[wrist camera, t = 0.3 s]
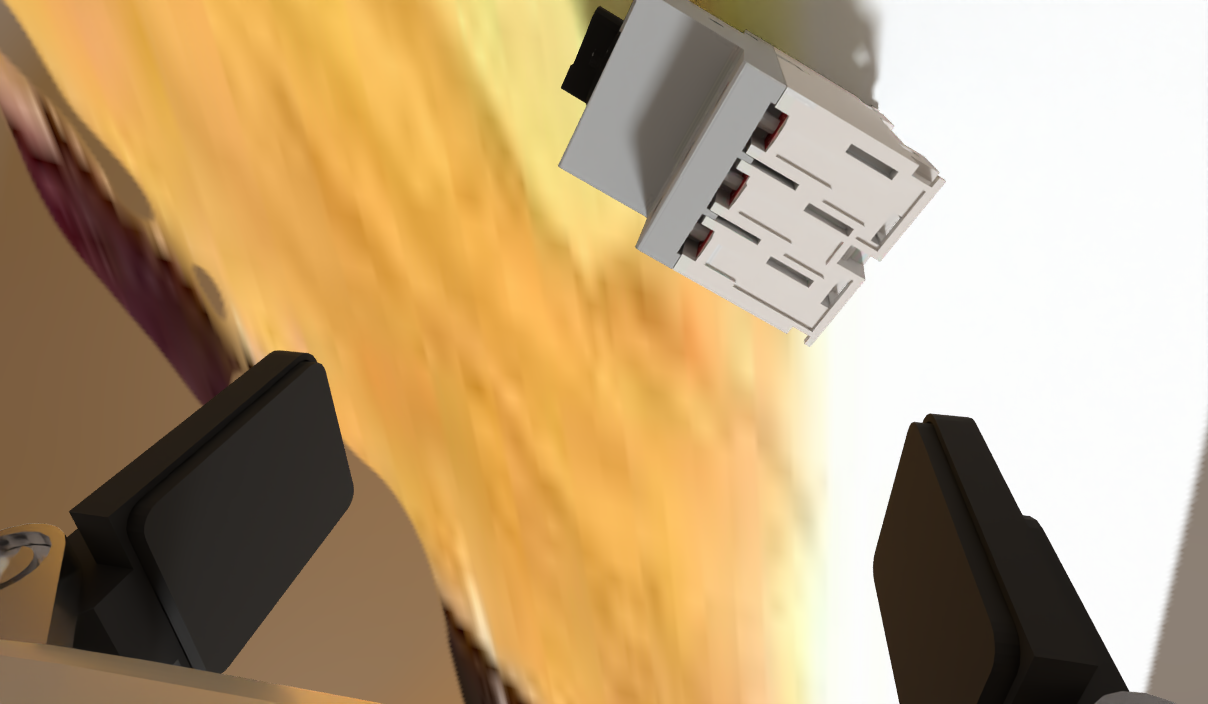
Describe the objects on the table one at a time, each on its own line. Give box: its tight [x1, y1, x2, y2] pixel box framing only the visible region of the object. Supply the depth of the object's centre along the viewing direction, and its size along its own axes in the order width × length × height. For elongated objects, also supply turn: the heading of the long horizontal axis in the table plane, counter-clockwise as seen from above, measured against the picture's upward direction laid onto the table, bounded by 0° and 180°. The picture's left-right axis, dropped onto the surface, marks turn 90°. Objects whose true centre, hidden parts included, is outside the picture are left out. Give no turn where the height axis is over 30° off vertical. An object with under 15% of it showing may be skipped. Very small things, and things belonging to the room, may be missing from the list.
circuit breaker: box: [558, 0, 946, 347], centre depth 30 cm, size 8×14×15 cm, turn 63°
